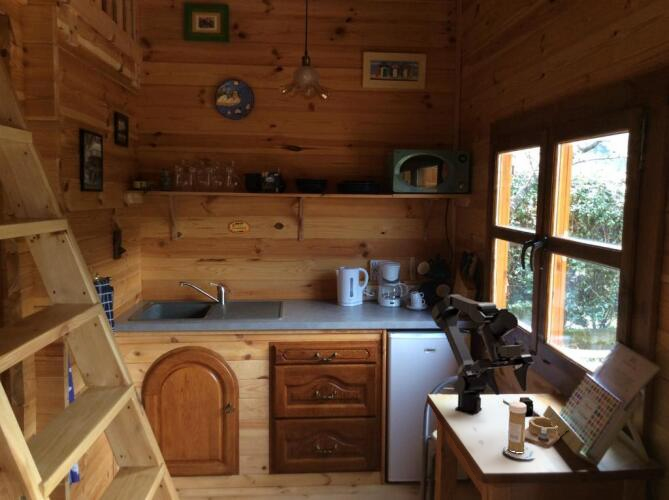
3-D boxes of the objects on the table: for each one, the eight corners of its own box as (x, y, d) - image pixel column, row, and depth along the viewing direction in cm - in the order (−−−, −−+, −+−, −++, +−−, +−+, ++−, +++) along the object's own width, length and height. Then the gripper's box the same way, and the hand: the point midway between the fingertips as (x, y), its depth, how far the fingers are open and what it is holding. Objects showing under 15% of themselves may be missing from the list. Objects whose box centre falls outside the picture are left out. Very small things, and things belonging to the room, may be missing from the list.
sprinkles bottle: (527, 451, 154) (530, 404, 152) (517, 455, 151) (519, 408, 150) (514, 445, 158) (516, 399, 156) (503, 449, 155) (505, 402, 154)
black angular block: (544, 420, 177) (545, 406, 176) (522, 420, 176) (523, 406, 176) (527, 405, 189) (528, 392, 189) (507, 405, 188) (507, 392, 188)
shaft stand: (517, 438, 162) (518, 426, 162) (540, 421, 174) (540, 410, 174) (548, 447, 156) (548, 435, 156) (569, 429, 168) (570, 418, 168)
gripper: (481, 334, 158) (498, 388, 151) (535, 329, 165) (554, 381, 158) (463, 348, 168) (478, 399, 161) (514, 342, 174) (532, 392, 167)
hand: (511, 392), depth 161 cm, fingers open, 9 cm apart
